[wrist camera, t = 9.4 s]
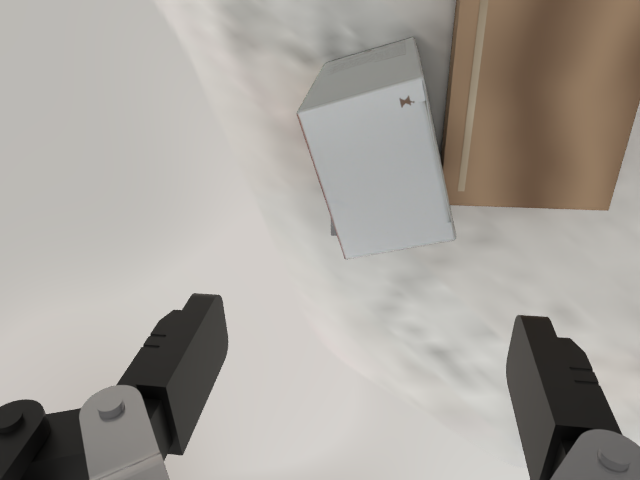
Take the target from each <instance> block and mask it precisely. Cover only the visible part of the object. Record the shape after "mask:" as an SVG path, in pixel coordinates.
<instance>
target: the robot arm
mask: <svg viewBox="0 0 640 480" xmlns="http://www.w3.org/2000/svg"><path fill="white" fill-rule="evenodd" d="M227 350H228V334H227V327H226V321H225V314H224V307H223V301H222V298H221V296H220V295H212V294H196V293H194V294H192V296H191V297H190V298H189V300H188V302H187V303H186V305H185V306H184V308H183V310H173V311H172V312H170V313H169V314H168V315H166V316H165V317H164V318H162V319H161V320H160V321H159V322H158V323H157V325H156V327H155V328H154V329H153V331H152V332H151V336H149V337H148V338H147V340H146V341H145V343H144V346H143V347H142V348H141V349H140V351H139V352H138V354H137V355H136V356H135V358H134V359H133V361H132V362H131V364H130V366H129V367H128V368H127V370H126V371H125V373H124V375H123V376H122V377H121V379H120V380H119V382H118V384H117V385H116V386H111V387H108V388H105V389H103V390H101V391H99V392H97V393H95V394H94V395H92V396H91V397H90V398H89V399H88V400H87V401H86V402H85V403H84V405H83V406H82V408H80V409H75V410H69V411H63V412H57V413H51V414H45V411H44V409H43V407H42V406H41V404H40V403H38V402H37V401H34V400H18V401H14V402H11V403H8V404H5V405H3V406H1V407H0V480H169V476H168V473H167V470H166V467H165V464H164V460H165V458H166V456H167V454H175V455H183V453H184V451H185V449H186V447H187V444H188V442H189V440H190V437H191V435H192V433H193V431H194V429H195V426H196V424H197V422H198V419H199V417H200V415H201V413H202V410H203V408H204V406H205V404H206V401H207V399H208V397H209V394H210V392H211V390H212V388H213V386H214V383H215V381H216V379H217V376H218V374H219V372H220V370H221V367H222V365H223V363H224V361H225V358H226V355H227ZM506 377H507V384H508V388H509V392H510V397H511V401H512V405H513V409H514V413H515V417H516V422H517V426H518V430H519V434H520V438H521V442H522V447H523V451H524V455H525V459H526V463H527V468H528V471H529V476H530V480H640V447H639V446H638V445H637V444H636V443H635V442H633V441H632V440H630V439H629V438H627V437H625V436H623V435H622V433H621V431H620V428H619V426H618V424H617V422H616V420H615V417H614V415H613V413H612V411H611V409H610V406H609V404H608V402H607V400H606V398H605V395H604V393H603V391H602V389H601V387H600V386H599V385H598V380H597V378H596V376H595V373H594V372H593V371H592V367H591V364H590V362H589V360H588V358H587V356H586V353H585V352H584V351H583V350H582V349H581V348H580V347H579V346H578V345H577V344H576V343H575V342H573V341H572V340H571V339H570V338H559V337H557V335H556V333H555V330H554V328H553V325H552V323H551V321H550V319H549V318H548V317H540V316H524V315H518V316H517V317H516V319H515V323H514V327H513V332H512V337H511V342H510V347H509V352H508V357H507V363H506Z"/></svg>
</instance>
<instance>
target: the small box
mask: <svg viewBox="0 0 640 480" xmlns="http://www.w3.org/2000/svg"><path fill="white" fill-rule="evenodd" d="M297 116H298V119H299V122H300V125H301V128H302V131H303V134H304V137H305V140H306V143H307V146H308V149H309V152H310V155H311V158H312V161H313V164H314V167H315V170H316V173H317V176H318V179H319V182H320V185H321V188H322V191H323V194H324V197H325V200H326V203H327V206H328V209H329V212H330V215H331V218H332V221H333V224H334V227H335V231H336V234H337V237H338V239H339V242H340V245H341V248H342V251H343V255H344V258H345V259H352V258H357V257H363V256H369V255H375V254H380V253H385V252H391V251H396V250H402V249H408V248H413V247H419V246H425V245H430V244H436V243H441V242H447V241H453V240H455V239H456V232H455V227H454V222H453V218H452V213H451V208H450V204H449V199H448V194H447V189H446V184H445V179H444V174H443V170H442V165H441V160H440V155H439V150H438V145H437V140H436V135H435V130H434V125H433V120H432V114H431V109H430V104H429V99H428V94H427V89H426V85H425V80H424V75H423V70H422V66H421V61H420V57H419V53H418V48H417V44H416V41H415V38H414V37H411V38H408V39H405V40H402V41H398V42H395V43H392V44H388V45H385V46H381V47H378V48H375V49H371V50H368V51H364V52H361V53H358V54H354V55H351V56H347V57H344V58H341V59H337V60H334V61H331V62H327V63H325V64H324V66H323V68H322V69H321V71H320V73H319V75H318V76H317V78H316V80H315V82H314V83H313V85H312V87H311V89H310V90H309V92H308V94H307V95H306V97H305V99H304V101H303V103H302V104H301V106H300V108H299V110H298V112H297Z"/></svg>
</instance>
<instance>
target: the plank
mask: <svg viewBox="0 0 640 480" xmlns="http://www.w3.org/2000/svg"><path fill="white" fill-rule="evenodd" d="M639 101H640V0H456V7H455V17H454V28H453V38H452V48H451V58H450V69H449V79H448V89H447V100H446V110H445V120H444V130H443V141H442V151H441V165H442V170H443V174H444V179H445V184H446V189H447V194H448V199H449V204H450V205H465V206H494V207H523V208H552V209H581V210H609V206H610V203H611V199H612V196H613V192H614V189H615V185H616V182H617V178H618V175H619V171H620V168H621V164H622V161H623V157H624V154H625V150H626V147H627V143H628V140H629V136H630V133H631V129H632V126H633V122H634V119H635V115H636V112H637V108H638V105H639Z"/></svg>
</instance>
